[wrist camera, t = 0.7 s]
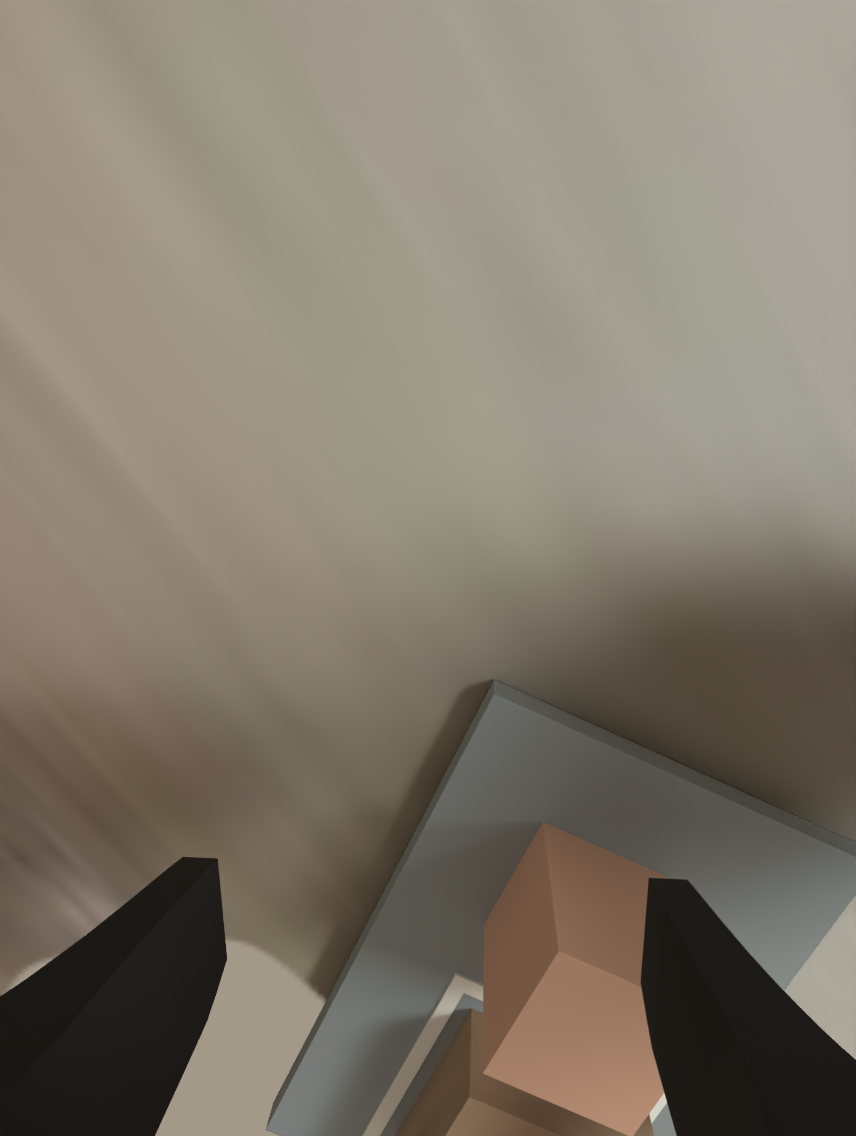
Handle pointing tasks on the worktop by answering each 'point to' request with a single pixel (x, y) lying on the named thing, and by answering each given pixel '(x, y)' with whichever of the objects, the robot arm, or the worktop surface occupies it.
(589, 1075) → the top block
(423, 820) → the build board
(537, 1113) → the base block
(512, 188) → the worktop surface
